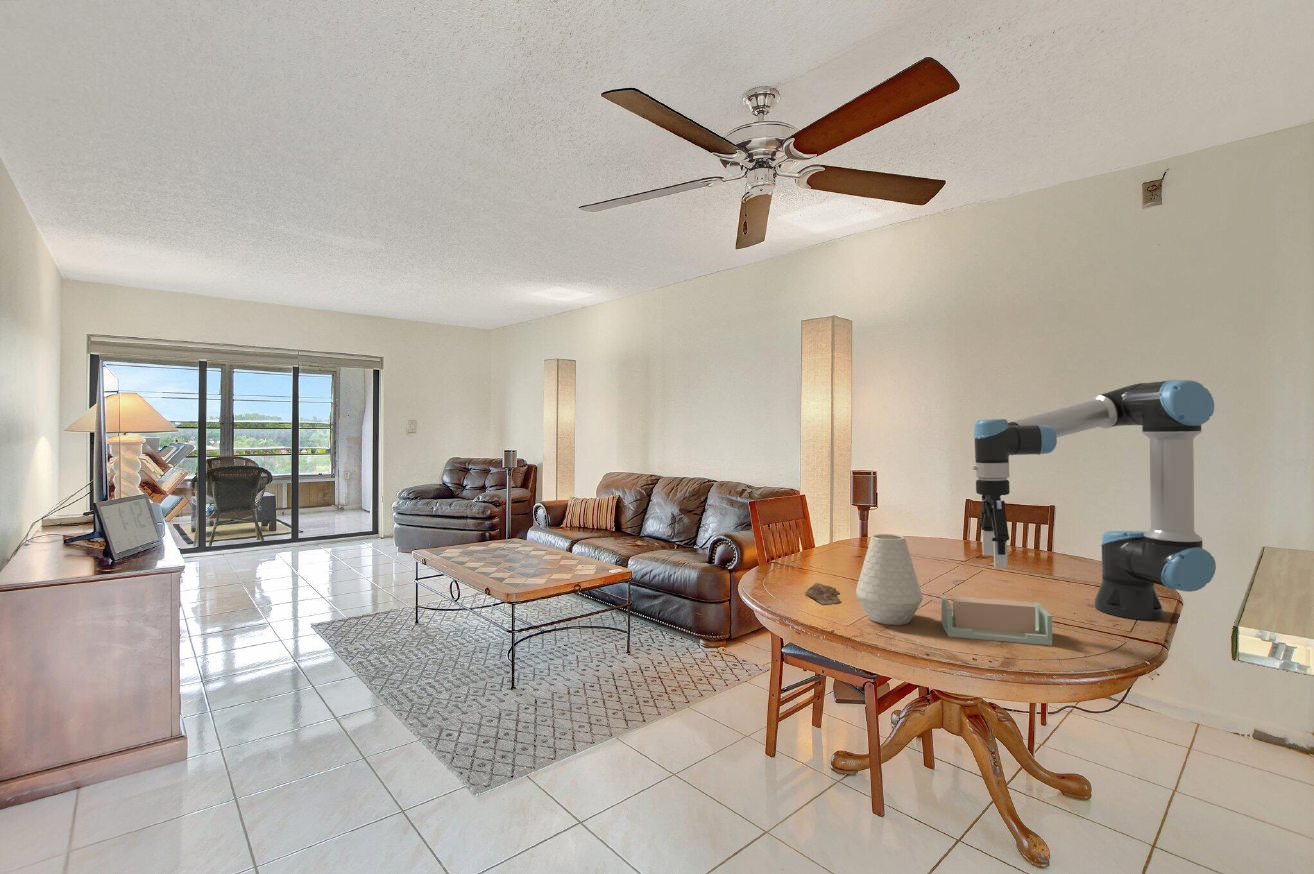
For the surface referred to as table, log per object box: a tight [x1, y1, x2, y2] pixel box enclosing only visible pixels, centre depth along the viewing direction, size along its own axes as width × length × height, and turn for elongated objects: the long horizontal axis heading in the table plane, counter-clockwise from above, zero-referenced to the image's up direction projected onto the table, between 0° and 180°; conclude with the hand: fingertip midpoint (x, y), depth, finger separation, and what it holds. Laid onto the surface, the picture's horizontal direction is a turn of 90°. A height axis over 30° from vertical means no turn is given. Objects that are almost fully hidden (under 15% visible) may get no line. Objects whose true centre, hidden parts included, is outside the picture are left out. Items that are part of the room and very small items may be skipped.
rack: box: [940, 595, 1053, 646], centre depth 152 cm, size 23×12×7 cm, turn 72°
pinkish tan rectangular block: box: [952, 596, 1036, 634], centre depth 152 cm, size 18×4×7 cm, turn 71°
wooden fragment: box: [804, 582, 843, 606], centre depth 190 cm, size 26×11×1 cm, turn 167°
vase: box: [855, 533, 924, 626], centre depth 164 cm, size 17×17×23 cm
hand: (994, 561), depth 152 cm, fingers open, 13 cm apart
